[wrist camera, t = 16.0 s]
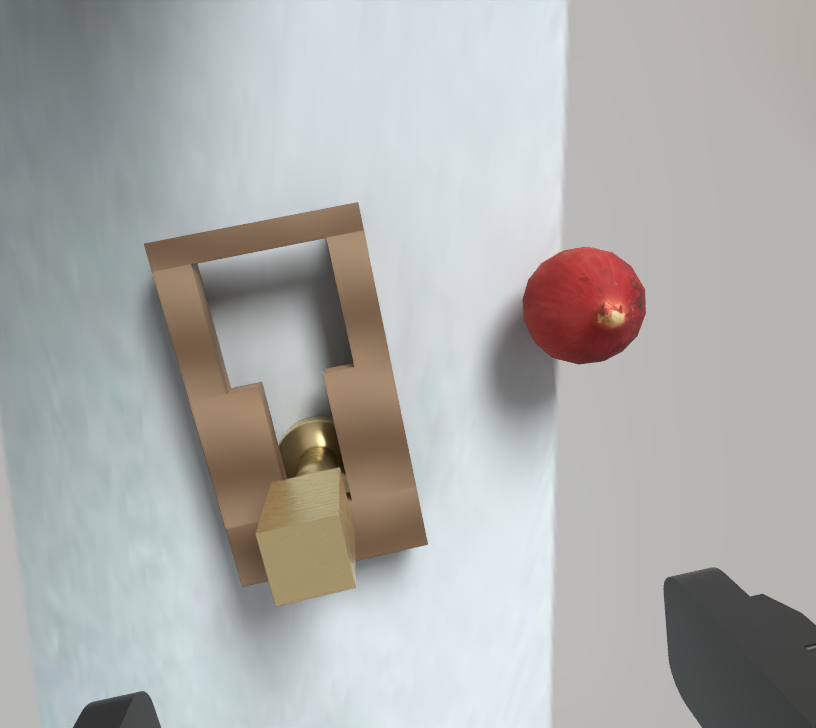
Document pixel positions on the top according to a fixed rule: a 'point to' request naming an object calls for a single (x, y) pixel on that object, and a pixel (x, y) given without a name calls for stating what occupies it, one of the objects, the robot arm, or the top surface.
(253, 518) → the keyhole plate
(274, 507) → the keyhole peg
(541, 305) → the onion
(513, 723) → the top surface
